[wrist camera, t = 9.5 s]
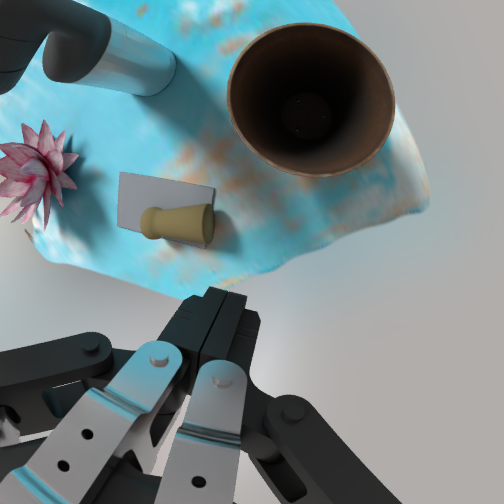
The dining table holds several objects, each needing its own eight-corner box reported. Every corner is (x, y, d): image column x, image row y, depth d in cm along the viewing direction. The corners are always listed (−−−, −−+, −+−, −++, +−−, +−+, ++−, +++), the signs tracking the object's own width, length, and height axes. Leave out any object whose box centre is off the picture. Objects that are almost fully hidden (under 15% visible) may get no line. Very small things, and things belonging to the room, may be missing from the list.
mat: (118, 225, 46) (117, 226, 45) (121, 171, 42) (119, 172, 41) (205, 247, 44) (204, 248, 44) (214, 188, 40) (213, 188, 40)
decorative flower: (62, 236, 49) (14, 263, 36) (23, 170, 45) (-24, 184, 31) (108, 168, 42) (47, 183, 28) (61, 98, 38) (5, 98, 24)
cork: (210, 194, 39) (146, 196, 41) (198, 222, 35) (130, 222, 37) (216, 224, 44) (157, 224, 45) (207, 253, 40) (144, 249, 41)
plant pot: (261, 62, 32) (238, 16, 17) (363, 79, 30) (399, 43, 16) (248, 157, 38) (216, 164, 23) (349, 174, 36) (382, 193, 22)
